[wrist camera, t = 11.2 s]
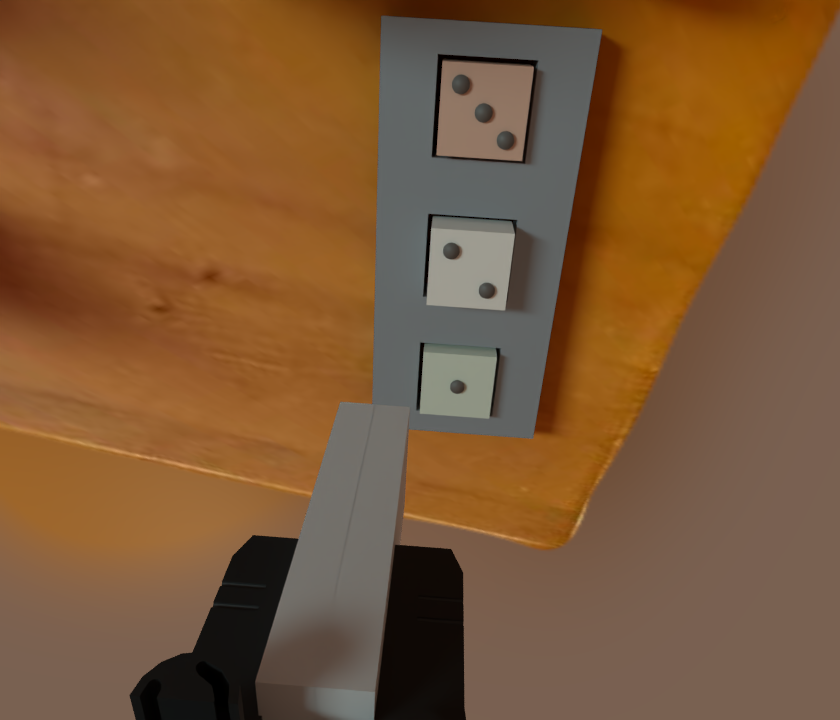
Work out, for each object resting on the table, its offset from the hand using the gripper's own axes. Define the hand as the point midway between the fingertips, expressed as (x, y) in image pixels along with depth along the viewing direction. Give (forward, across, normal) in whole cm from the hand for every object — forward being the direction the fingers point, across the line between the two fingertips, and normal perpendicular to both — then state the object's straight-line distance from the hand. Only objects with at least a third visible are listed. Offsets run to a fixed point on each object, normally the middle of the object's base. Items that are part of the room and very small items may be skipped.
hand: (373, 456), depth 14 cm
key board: (+30, +3, -5) cm, 31 cm away
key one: (+30, +3, -14) cm, 33 cm away
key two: (+29, +3, -5) cm, 29 cm away
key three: (+30, +3, +4) cm, 30 cm away
